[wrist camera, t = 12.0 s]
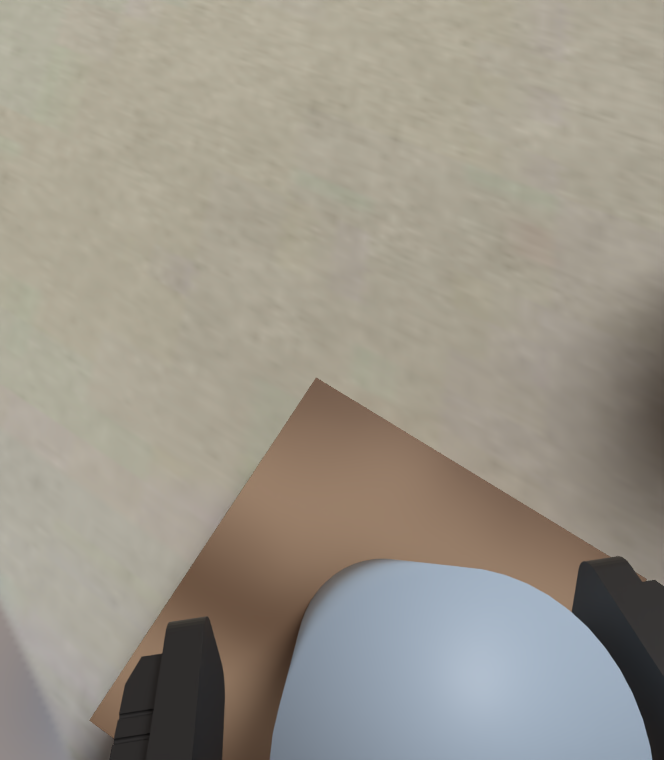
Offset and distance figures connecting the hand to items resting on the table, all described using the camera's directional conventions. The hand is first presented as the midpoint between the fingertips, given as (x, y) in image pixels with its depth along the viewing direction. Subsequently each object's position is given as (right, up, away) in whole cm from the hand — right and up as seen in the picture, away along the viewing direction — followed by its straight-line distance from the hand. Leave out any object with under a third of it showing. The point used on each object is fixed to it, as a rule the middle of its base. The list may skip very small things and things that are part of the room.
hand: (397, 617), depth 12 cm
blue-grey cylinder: (0, -3, +6) cm, 7 cm away
